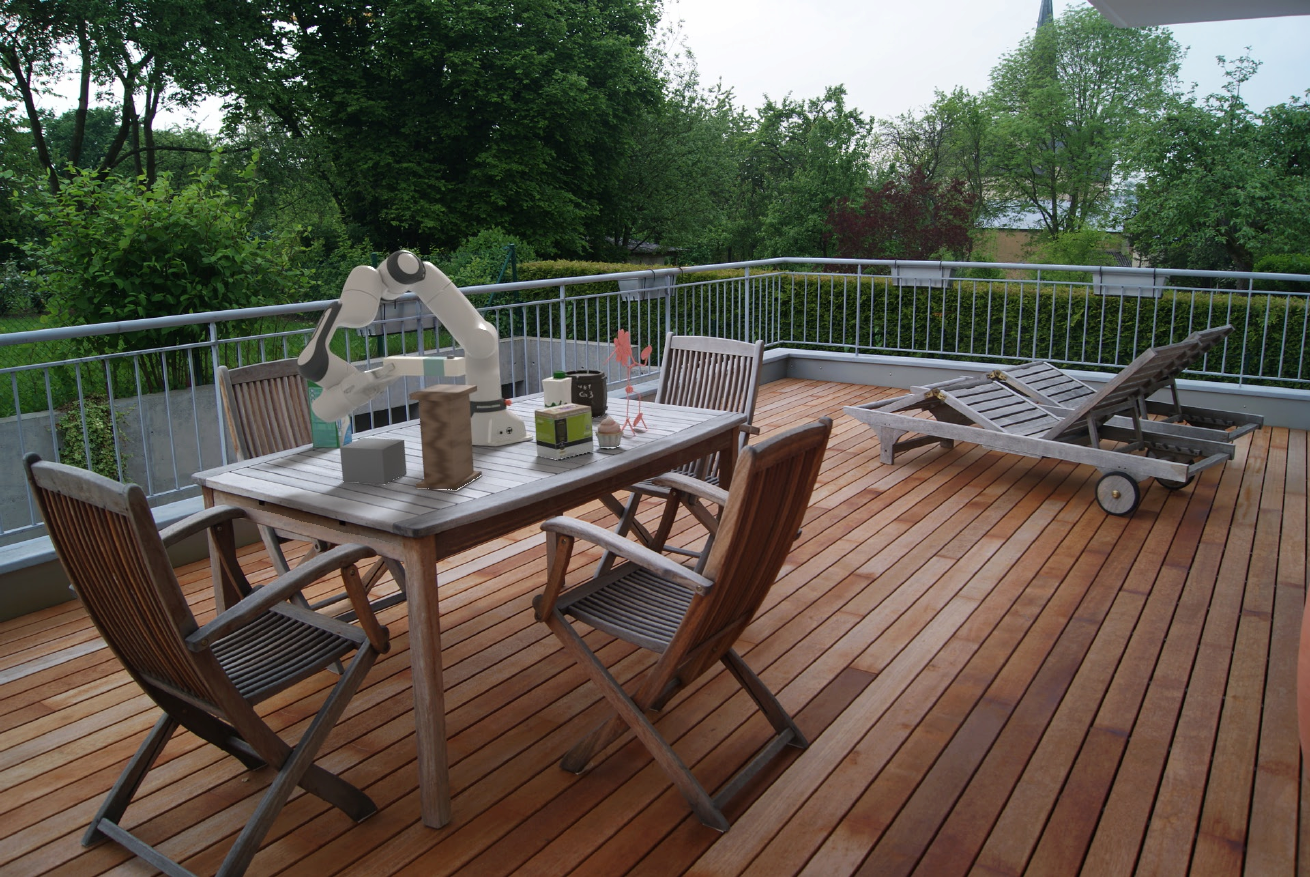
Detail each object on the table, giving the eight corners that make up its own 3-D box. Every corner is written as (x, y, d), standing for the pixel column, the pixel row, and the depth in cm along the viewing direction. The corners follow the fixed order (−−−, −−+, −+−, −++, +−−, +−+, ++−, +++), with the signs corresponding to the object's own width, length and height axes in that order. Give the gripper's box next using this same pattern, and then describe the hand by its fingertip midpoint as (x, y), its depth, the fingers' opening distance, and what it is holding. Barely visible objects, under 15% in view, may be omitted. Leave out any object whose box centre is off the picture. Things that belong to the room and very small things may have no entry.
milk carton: (338, 447, 305) (331, 371, 300) (312, 447, 307) (305, 370, 301) (352, 441, 314) (346, 366, 308) (327, 440, 316) (320, 366, 310)
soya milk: (575, 428, 329) (573, 371, 325) (563, 434, 321) (561, 375, 317) (553, 426, 332) (551, 370, 328) (540, 432, 324) (538, 374, 320)
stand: (415, 488, 256) (409, 394, 250) (443, 474, 271) (437, 384, 266) (456, 491, 253) (450, 395, 247) (481, 476, 268) (476, 385, 263)
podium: (343, 482, 264) (339, 447, 262) (366, 471, 275) (363, 437, 273) (384, 484, 261) (382, 449, 258) (406, 473, 272) (404, 439, 270)
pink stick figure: (660, 425, 332) (656, 325, 324) (626, 441, 309) (621, 333, 302) (621, 423, 339) (617, 325, 331) (585, 438, 316) (580, 333, 308)
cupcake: (618, 442, 307) (618, 412, 305) (628, 448, 299) (627, 417, 296) (591, 445, 304) (590, 414, 302) (599, 451, 295) (598, 420, 293)
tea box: (573, 447, 301) (571, 402, 298) (594, 452, 294) (592, 406, 291) (535, 456, 291) (533, 408, 288) (556, 461, 284) (554, 413, 281)
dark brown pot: (587, 407, 367) (586, 367, 363) (617, 414, 354) (616, 372, 350) (549, 414, 355) (548, 372, 351) (579, 421, 342) (578, 378, 338)
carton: (384, 375, 257) (382, 355, 256) (392, 372, 262) (391, 353, 261) (458, 376, 252) (456, 356, 251) (465, 374, 256) (464, 354, 255)
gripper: (334, 383, 253) (372, 358, 248) (374, 372, 272) (410, 348, 267) (346, 404, 253) (384, 379, 249) (385, 391, 272) (422, 368, 268)
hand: (398, 363), depth 258 cm, fingers closed on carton, 4 cm apart
